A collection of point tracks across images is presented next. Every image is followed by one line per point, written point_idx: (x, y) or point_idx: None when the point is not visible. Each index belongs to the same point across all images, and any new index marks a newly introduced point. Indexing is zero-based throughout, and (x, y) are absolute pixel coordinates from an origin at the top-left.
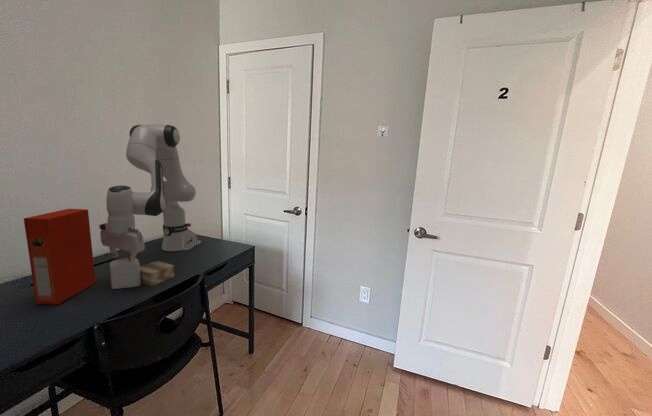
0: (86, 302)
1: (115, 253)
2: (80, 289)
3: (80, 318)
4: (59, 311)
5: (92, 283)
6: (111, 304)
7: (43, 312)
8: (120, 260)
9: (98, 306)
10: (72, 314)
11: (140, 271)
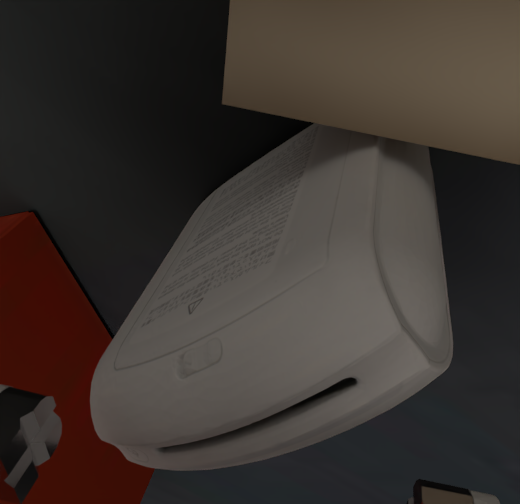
0: None
1: (9, 490)
2: (97, 336)
3: (399, 499)
4: (242, 464)
5: (43, 243)
6: (442, 403)
7: (190, 471)
8: (218, 465)
9: (382, 424)
10: (327, 479)
11: (387, 133)
